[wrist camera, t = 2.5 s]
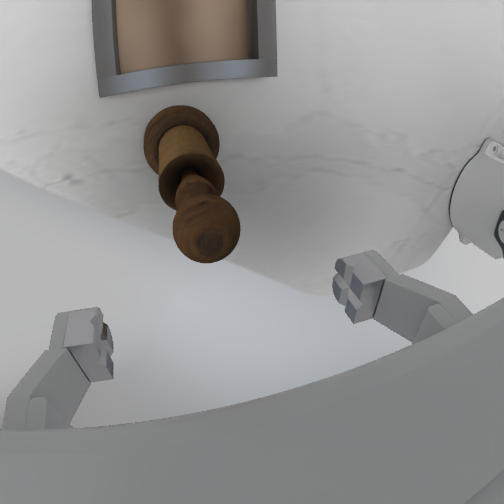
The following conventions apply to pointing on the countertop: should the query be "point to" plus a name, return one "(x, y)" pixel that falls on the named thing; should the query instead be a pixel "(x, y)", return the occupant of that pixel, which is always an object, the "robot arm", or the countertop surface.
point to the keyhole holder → (181, 42)
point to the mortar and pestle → (192, 182)
